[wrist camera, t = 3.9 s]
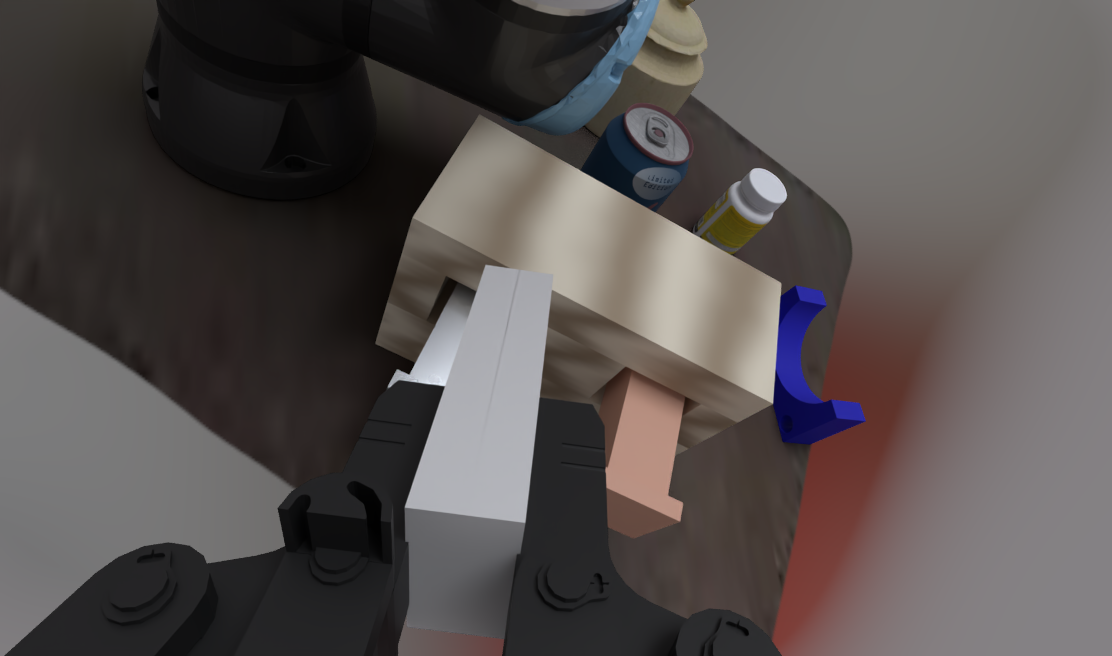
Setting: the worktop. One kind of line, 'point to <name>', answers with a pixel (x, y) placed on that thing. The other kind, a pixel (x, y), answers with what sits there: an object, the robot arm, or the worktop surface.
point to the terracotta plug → (640, 452)
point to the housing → (591, 283)
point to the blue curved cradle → (792, 397)
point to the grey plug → (441, 341)
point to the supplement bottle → (741, 211)
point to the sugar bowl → (660, 65)
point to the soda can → (642, 154)
